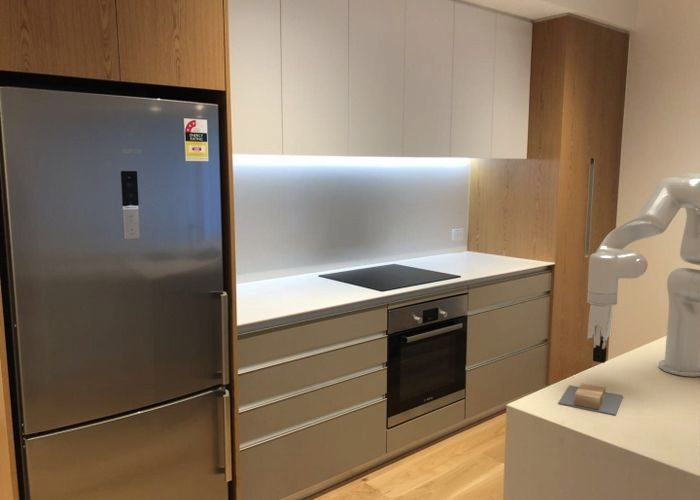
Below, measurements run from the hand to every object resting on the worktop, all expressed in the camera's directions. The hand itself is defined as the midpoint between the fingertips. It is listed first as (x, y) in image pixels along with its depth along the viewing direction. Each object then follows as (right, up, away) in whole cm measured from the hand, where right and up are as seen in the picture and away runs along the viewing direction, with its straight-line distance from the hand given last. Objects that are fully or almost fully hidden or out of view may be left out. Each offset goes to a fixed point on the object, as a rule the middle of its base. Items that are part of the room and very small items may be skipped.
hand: (599, 361), depth 164 cm
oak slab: (-4, -7, -5) cm, 9 cm away
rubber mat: (-5, -9, -7) cm, 13 cm away
